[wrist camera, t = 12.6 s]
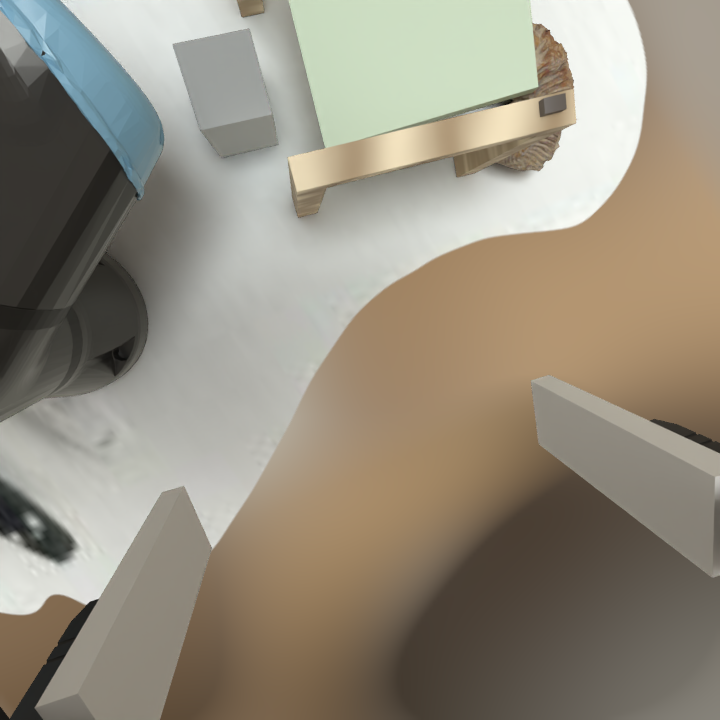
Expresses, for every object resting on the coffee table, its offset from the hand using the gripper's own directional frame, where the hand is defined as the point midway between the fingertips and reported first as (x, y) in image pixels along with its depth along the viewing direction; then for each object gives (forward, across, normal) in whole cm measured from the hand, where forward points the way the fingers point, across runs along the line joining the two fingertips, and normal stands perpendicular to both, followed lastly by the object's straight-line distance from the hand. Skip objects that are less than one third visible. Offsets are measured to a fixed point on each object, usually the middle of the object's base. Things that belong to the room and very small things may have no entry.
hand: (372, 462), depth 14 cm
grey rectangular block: (+25, -2, +21) cm, 33 cm away
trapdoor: (+18, +11, +21) cm, 30 cm away
